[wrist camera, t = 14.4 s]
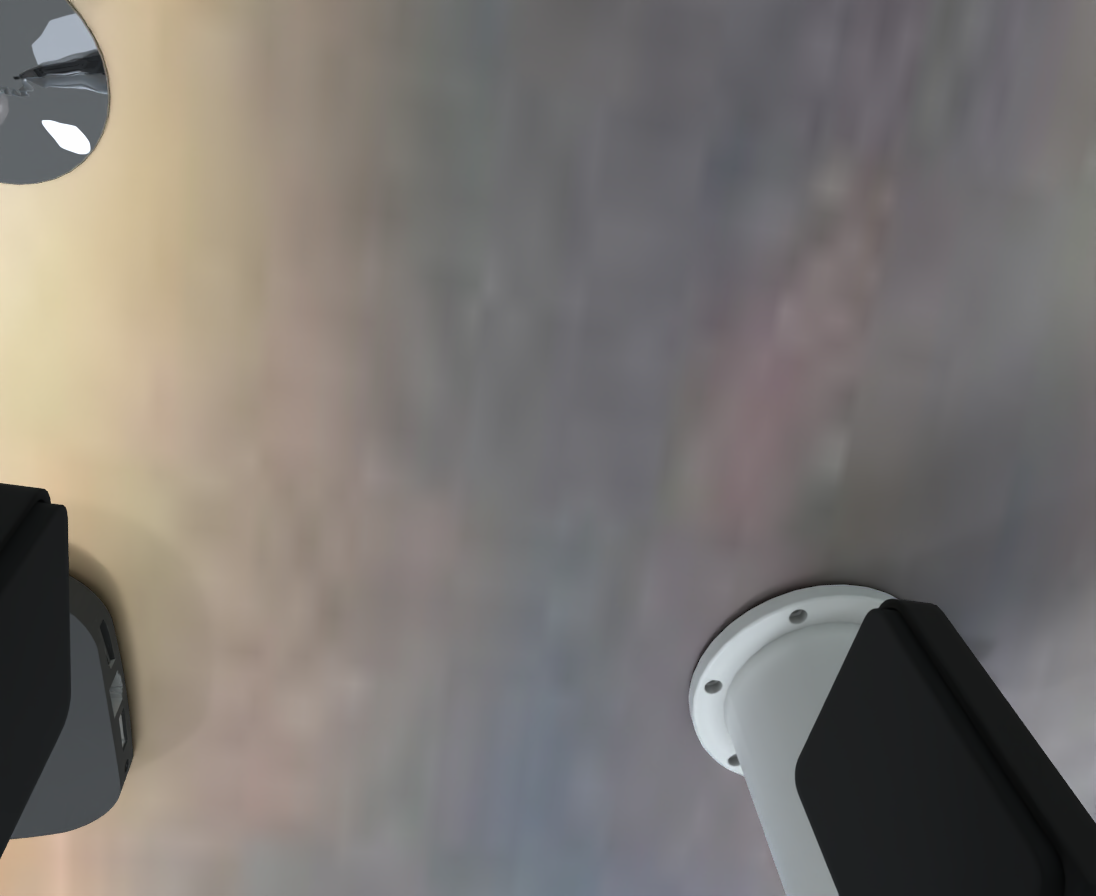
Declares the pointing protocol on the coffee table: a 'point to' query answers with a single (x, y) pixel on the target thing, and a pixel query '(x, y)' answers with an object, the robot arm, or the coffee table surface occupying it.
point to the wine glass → (48, 91)
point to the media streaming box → (85, 729)
